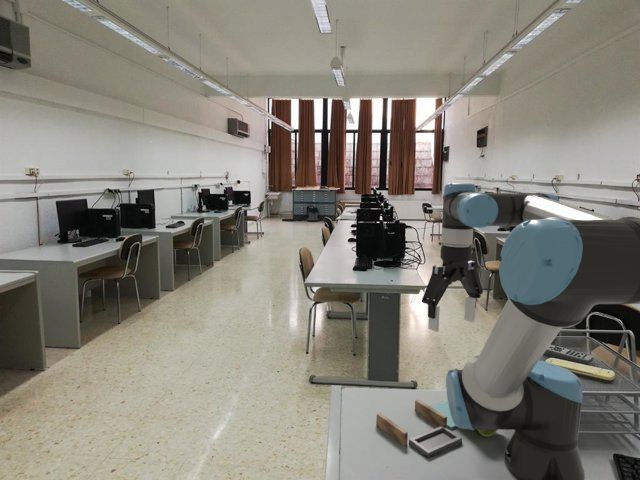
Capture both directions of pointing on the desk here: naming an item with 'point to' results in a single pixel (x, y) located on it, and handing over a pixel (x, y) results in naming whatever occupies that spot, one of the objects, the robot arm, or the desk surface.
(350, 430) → the desk surface
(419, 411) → the channel
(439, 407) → the pad
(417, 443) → the tray
